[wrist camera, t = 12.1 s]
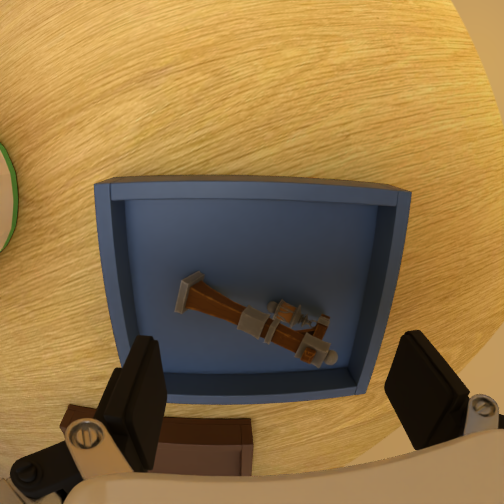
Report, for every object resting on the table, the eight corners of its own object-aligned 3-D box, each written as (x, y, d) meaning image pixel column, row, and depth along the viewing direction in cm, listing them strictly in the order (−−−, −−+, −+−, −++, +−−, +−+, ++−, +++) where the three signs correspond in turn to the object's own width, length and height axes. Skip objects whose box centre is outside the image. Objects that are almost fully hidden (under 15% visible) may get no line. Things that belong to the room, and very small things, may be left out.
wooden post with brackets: (335, 340, 17) (327, 384, 13) (211, 286, 19) (171, 313, 15) (348, 313, 17) (344, 353, 12) (219, 259, 18) (179, 281, 14)
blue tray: (387, 184, 16) (412, 191, 13) (352, 369, 20) (365, 393, 18) (113, 177, 15) (93, 183, 12) (138, 373, 19) (130, 400, 16)
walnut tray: (250, 418, 21) (253, 444, 18) (246, 489, 25) (248, 509, 23) (69, 404, 20) (58, 426, 17) (109, 478, 24) (105, 497, 21)
